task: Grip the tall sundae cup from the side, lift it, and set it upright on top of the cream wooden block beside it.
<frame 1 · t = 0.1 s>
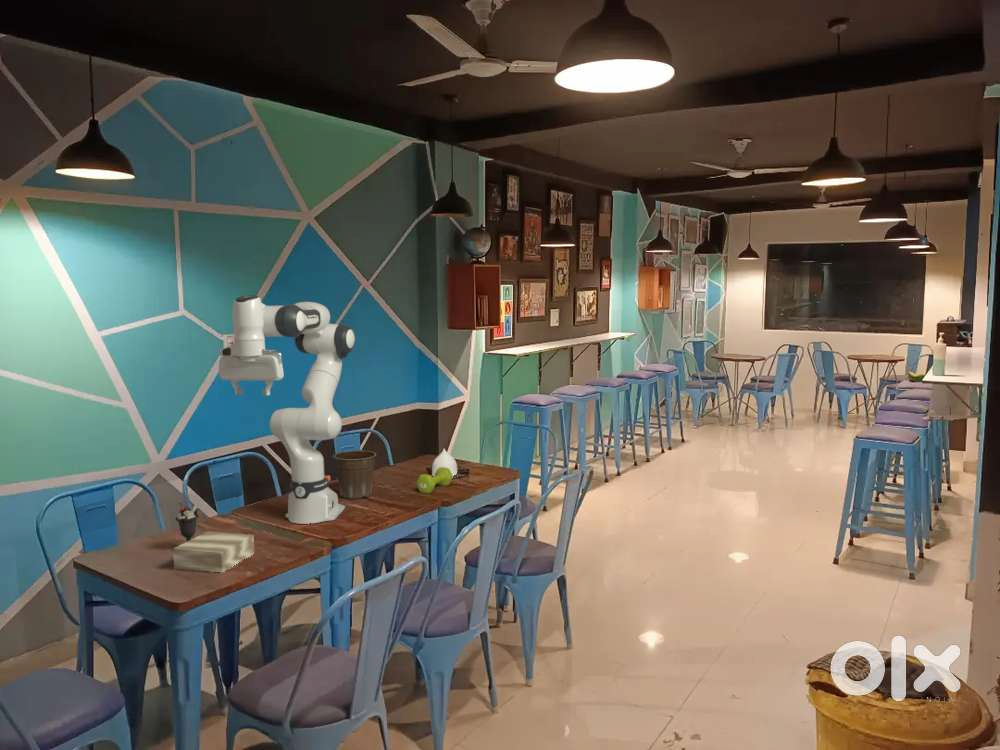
hand: (252, 395, 228), 48 cm above the table, tool pointing down, fingers open, 8 cm apart
cream block: (215, 561, 222), on the table
sundae: (189, 549, 234), on the table
plant pot: (356, 495, 292), on the table
teardrop: (444, 476, 321), on the table
dumbbell: (435, 489, 300), on the table
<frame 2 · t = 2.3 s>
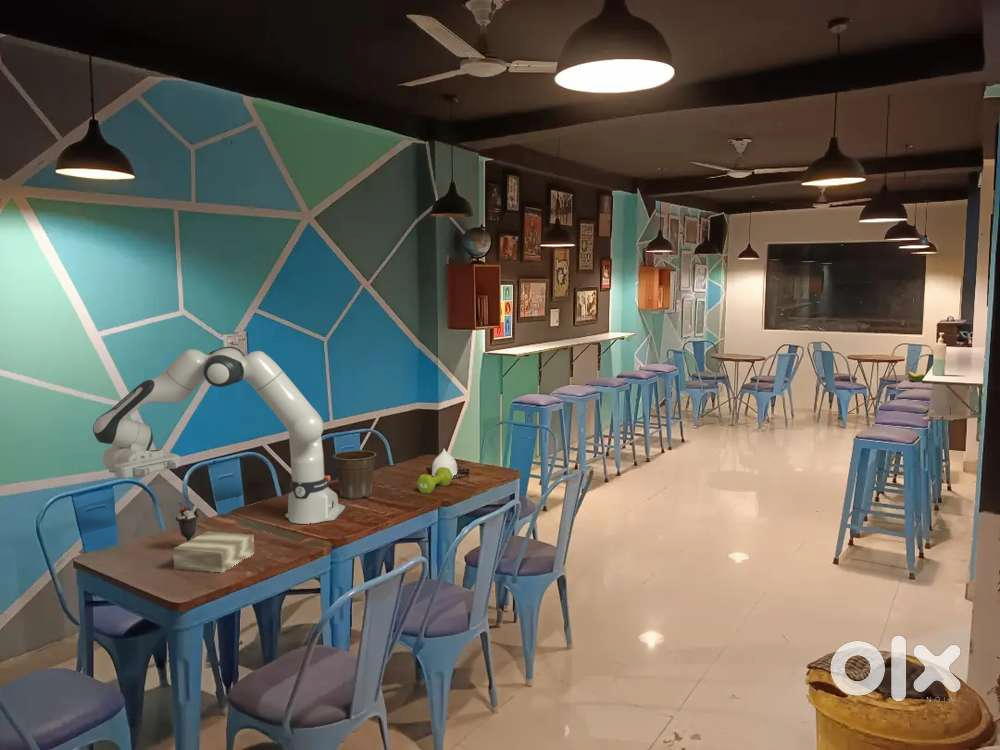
hand: (161, 468, 238), 24 cm above the table, tool horizontal, fingers open, 8 cm apart
nothing on the table moved.
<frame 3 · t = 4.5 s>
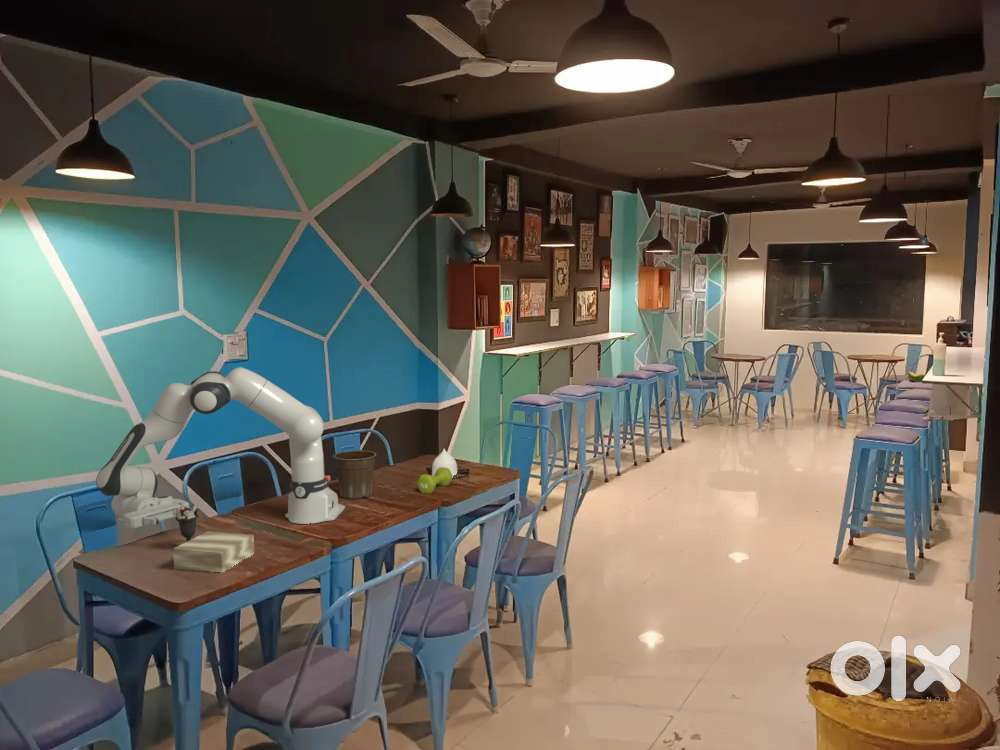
hand: (170, 517, 238), 8 cm above the table, tool horizontal, fingers open, 8 cm apart
nothing on the table moved.
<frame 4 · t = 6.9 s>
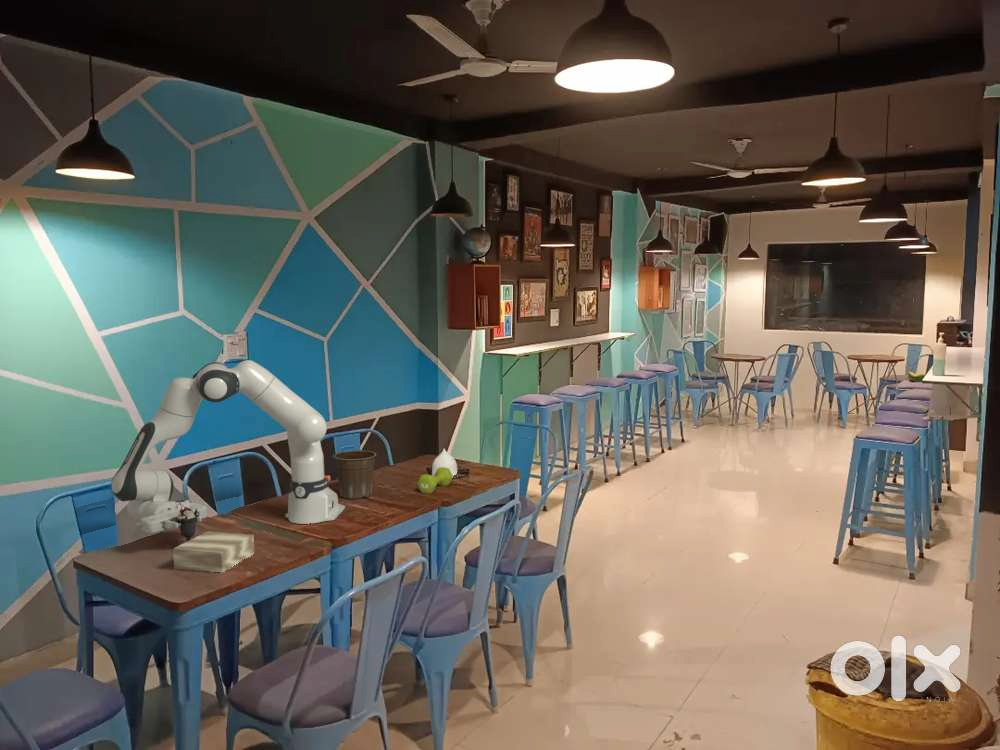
hand: (189, 522, 232), 9 cm above the table, tool horizontal, fingers closed on sundae, 6 cm apart
sundae: (189, 549, 234), on the table, touching gripper
everything else where it was.
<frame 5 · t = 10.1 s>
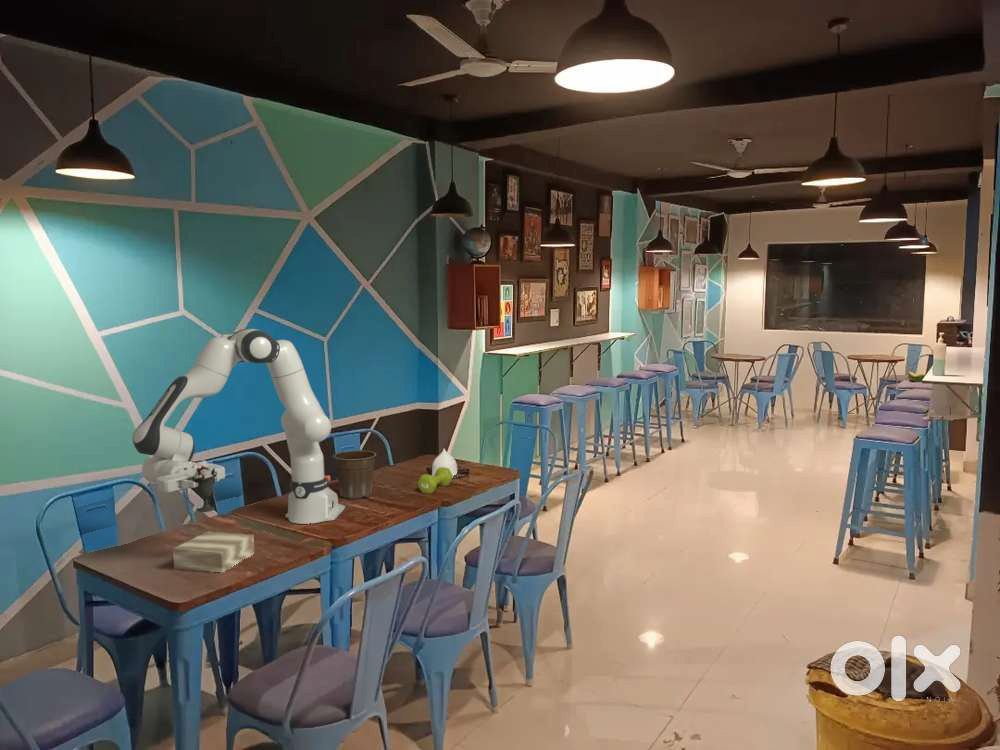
hand: (206, 481, 221), 24 cm above the table, tool horizontal, fingers closed on sundae, 5 cm apart
sundae: (206, 510, 223), point 15 cm above the table, touching gripper
everything else where it was.
when the fingers open (16 cm above the table, at t = 12.9 s): sundae drops 1 cm, resting on cream block.
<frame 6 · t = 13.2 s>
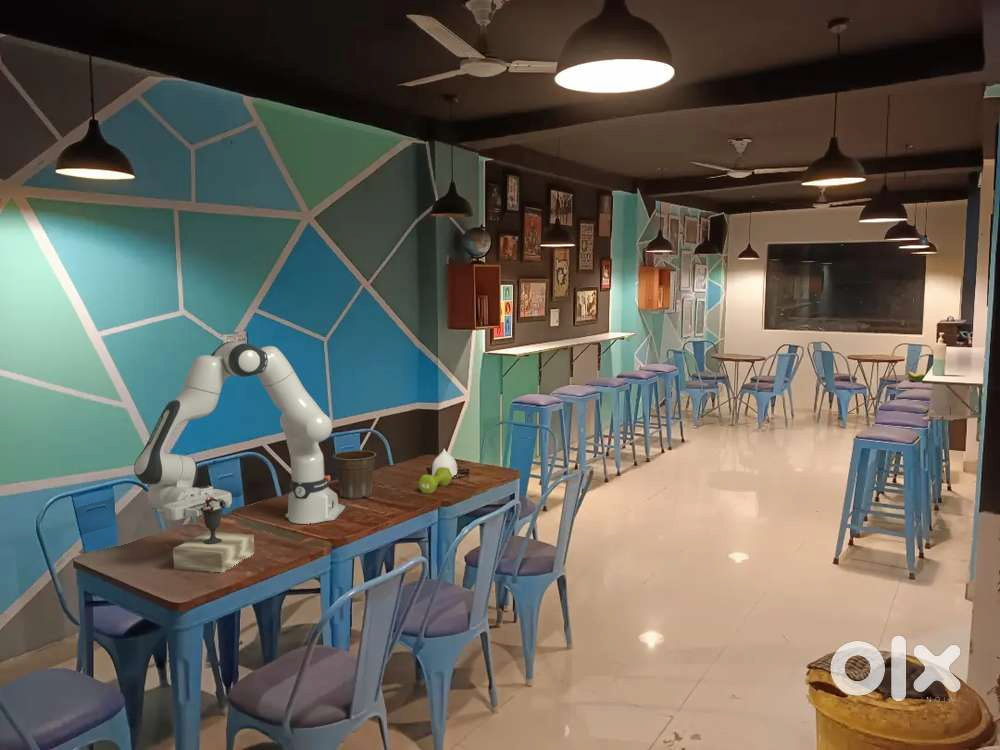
hand: (213, 509, 220), 16 cm above the table, tool horizontal, fingers open, 8 cm apart
sundae: (212, 542, 222), point 6 cm above the table, touching cream block
everything else where it was.
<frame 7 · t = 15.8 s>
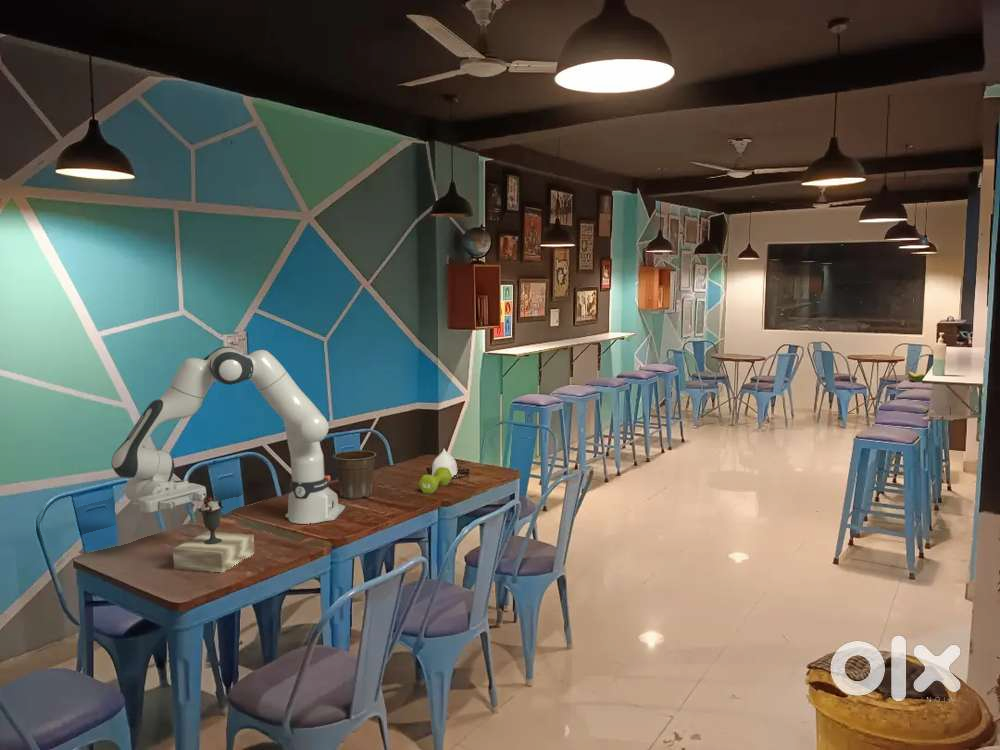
hand: (187, 502, 227), 16 cm above the table, tool horizontal, fingers open, 8 cm apart
nothing on the table moved.
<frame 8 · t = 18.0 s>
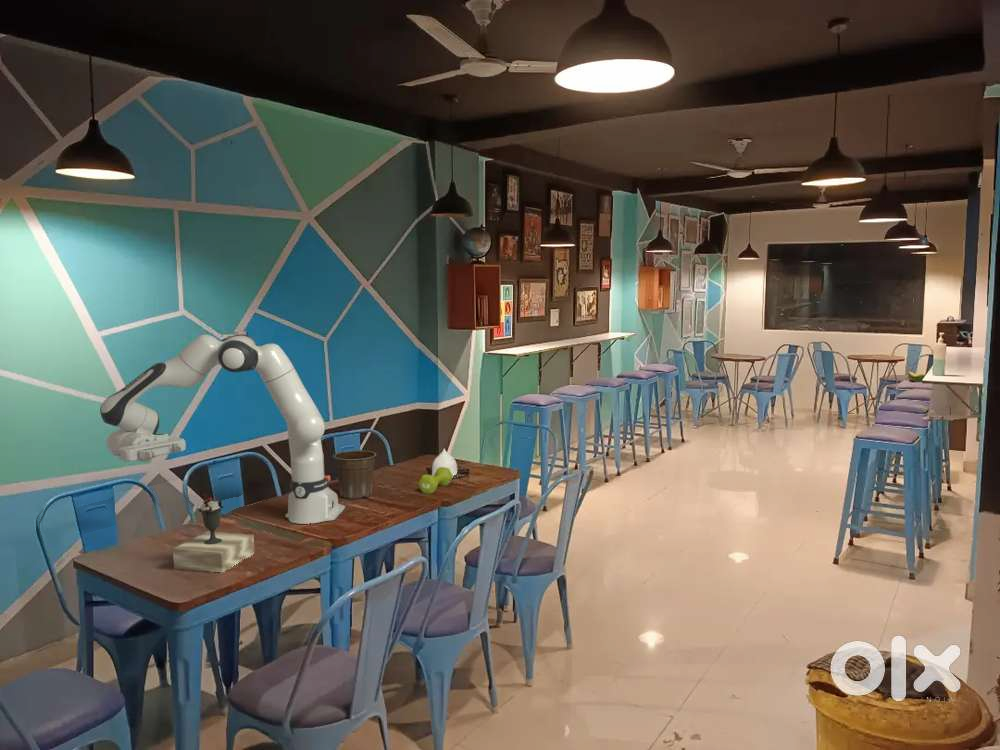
hand: (166, 452, 234), 30 cm above the table, tool horizontal, fingers open, 8 cm apart
nothing on the table moved.
at the end: sundae inside the target area on the cream block (0.4 cm from its centre), point 5.8 cm above the cream block's base; sundae tilted 1°; the gripper is holding nothing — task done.
